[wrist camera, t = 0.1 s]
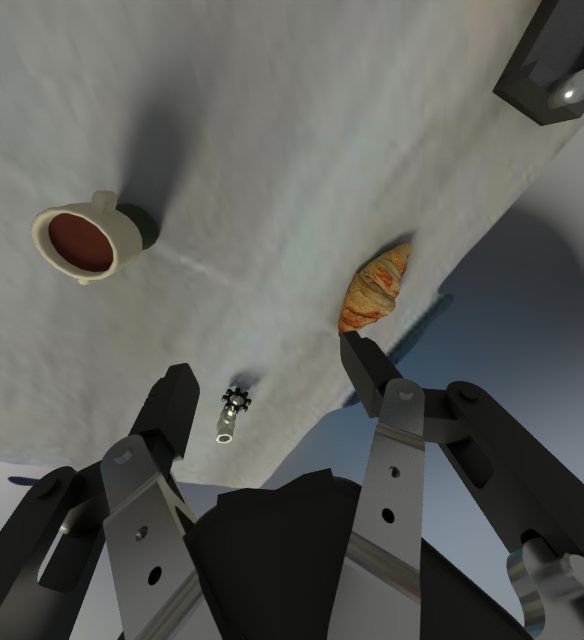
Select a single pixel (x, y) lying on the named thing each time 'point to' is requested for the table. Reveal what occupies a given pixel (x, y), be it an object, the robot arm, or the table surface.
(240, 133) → the table surface
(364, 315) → the croissant
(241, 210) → the table surface
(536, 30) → the tray
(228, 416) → the valve
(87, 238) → the character mug
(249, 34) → the table surface
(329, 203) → the table surface
